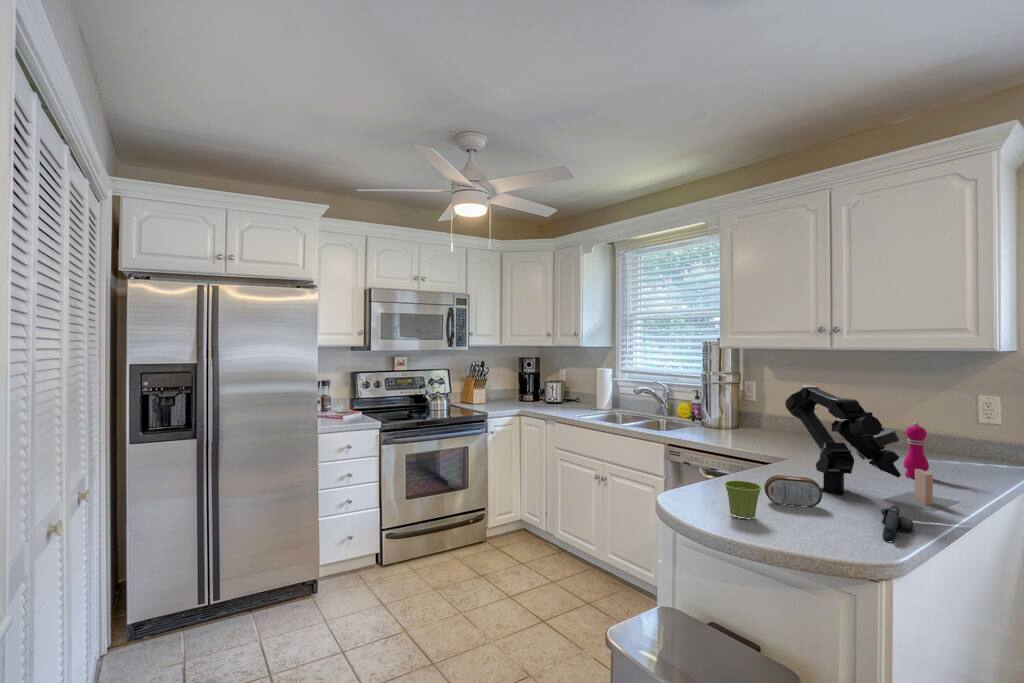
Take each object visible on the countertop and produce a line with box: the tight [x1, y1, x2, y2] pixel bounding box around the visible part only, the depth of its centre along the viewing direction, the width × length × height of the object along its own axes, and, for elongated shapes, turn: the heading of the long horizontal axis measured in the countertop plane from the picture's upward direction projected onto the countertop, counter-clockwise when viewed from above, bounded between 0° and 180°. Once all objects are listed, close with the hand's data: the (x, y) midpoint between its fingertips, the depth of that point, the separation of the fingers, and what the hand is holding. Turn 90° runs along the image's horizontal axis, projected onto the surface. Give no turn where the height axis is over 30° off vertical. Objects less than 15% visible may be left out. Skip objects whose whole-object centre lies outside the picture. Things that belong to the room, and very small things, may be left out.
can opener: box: [879, 505, 914, 542], centre depth 132 cm, size 18×7×6 cm, turn 136°
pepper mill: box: [903, 421, 930, 479], centre depth 189 cm, size 7×7×20 cm
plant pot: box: [724, 480, 763, 518], centre depth 144 cm, size 9×9×9 cm
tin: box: [764, 474, 823, 508], centre depth 155 cm, size 15×3×8 cm, turn 71°
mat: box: [882, 491, 960, 513], centre depth 158 cm, size 18×13×1 cm
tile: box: [914, 469, 934, 506], centre depth 156 cm, size 2×7×9 cm, turn 163°
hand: (899, 476), depth 158 cm, fingers closed
